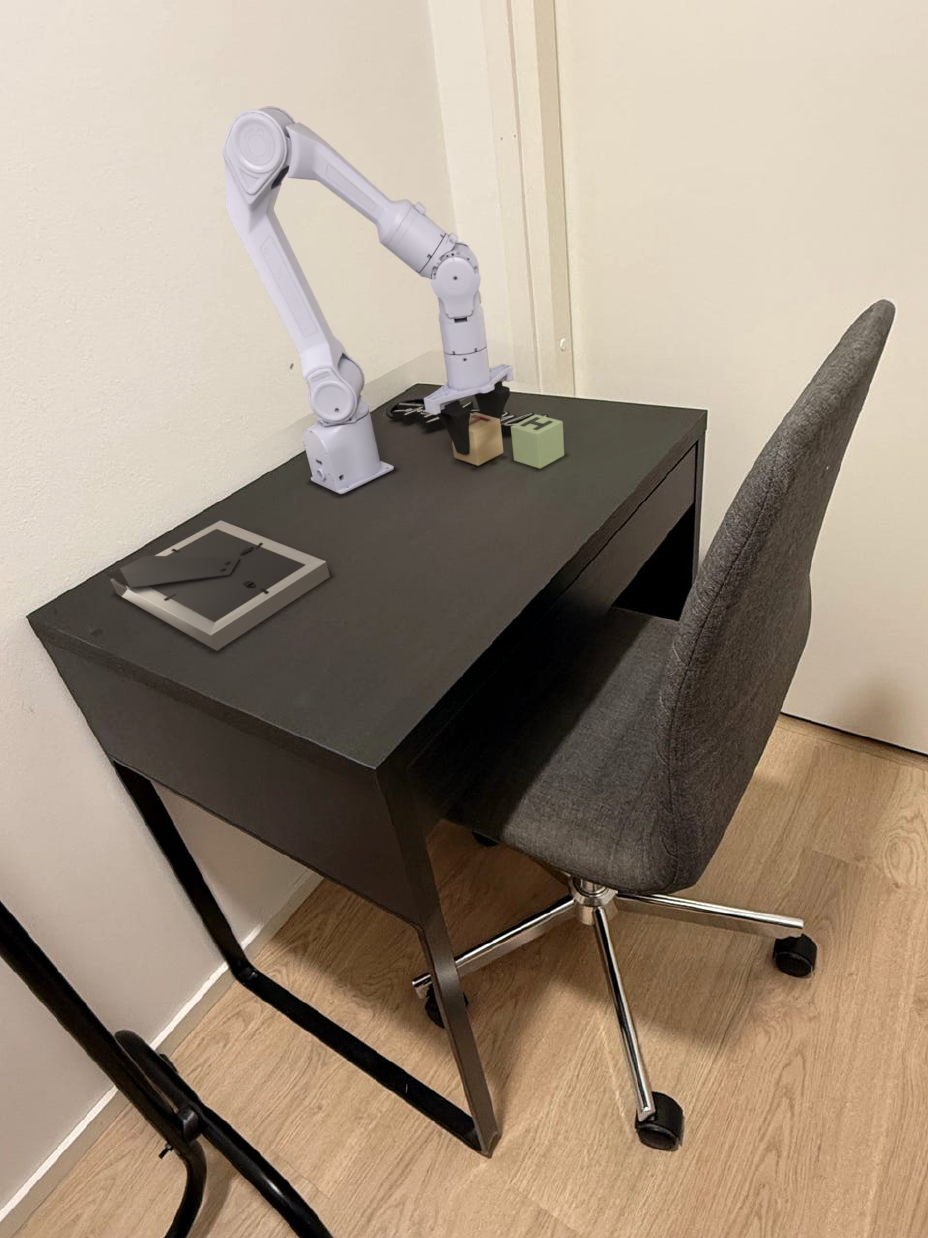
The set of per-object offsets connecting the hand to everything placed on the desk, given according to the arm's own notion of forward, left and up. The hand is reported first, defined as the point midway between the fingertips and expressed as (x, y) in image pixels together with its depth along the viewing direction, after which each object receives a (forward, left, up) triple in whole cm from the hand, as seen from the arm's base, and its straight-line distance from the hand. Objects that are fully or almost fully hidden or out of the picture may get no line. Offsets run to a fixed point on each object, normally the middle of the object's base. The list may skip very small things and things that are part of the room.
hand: (477, 445), depth 105 cm
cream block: (0, 0, -1) cm, 1 cm away
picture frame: (-41, +1, -2) cm, 41 cm away
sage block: (+5, -7, -2) cm, 9 cm away
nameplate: (+8, +12, -2) cm, 15 cm away
